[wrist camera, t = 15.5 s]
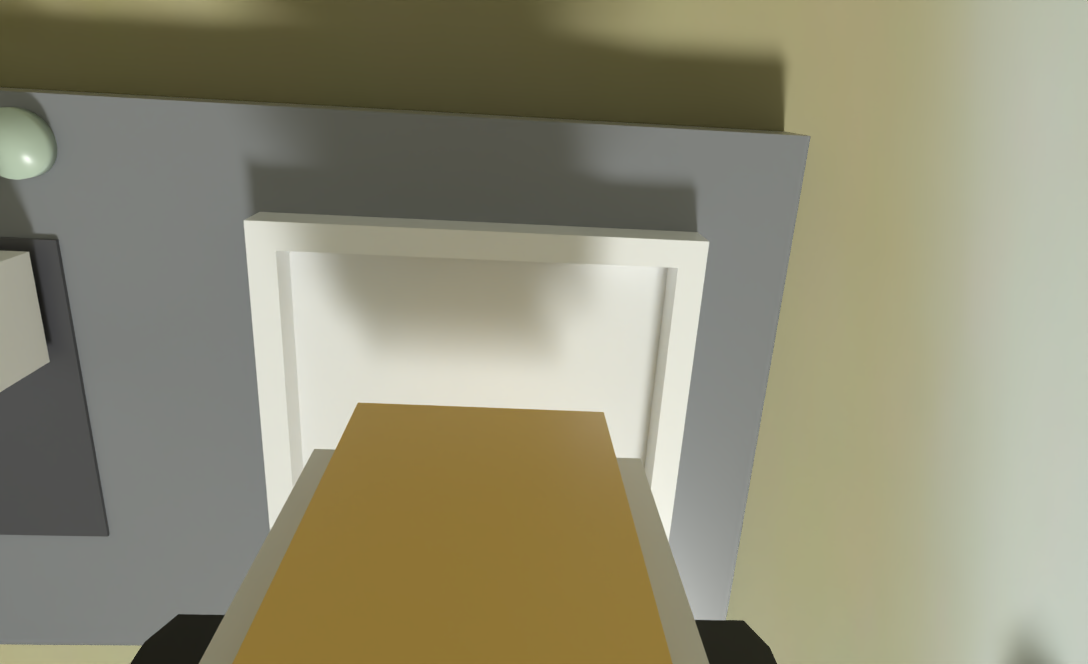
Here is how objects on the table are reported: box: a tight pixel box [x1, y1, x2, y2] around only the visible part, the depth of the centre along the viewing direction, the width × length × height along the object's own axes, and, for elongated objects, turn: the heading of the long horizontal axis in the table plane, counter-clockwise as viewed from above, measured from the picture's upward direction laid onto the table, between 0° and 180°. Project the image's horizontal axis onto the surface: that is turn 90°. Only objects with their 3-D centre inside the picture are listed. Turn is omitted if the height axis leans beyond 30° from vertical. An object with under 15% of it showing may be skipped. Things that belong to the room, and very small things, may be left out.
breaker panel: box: [0, 87, 810, 645], centre depth 17 cm, size 21×14×2 cm, turn 87°
